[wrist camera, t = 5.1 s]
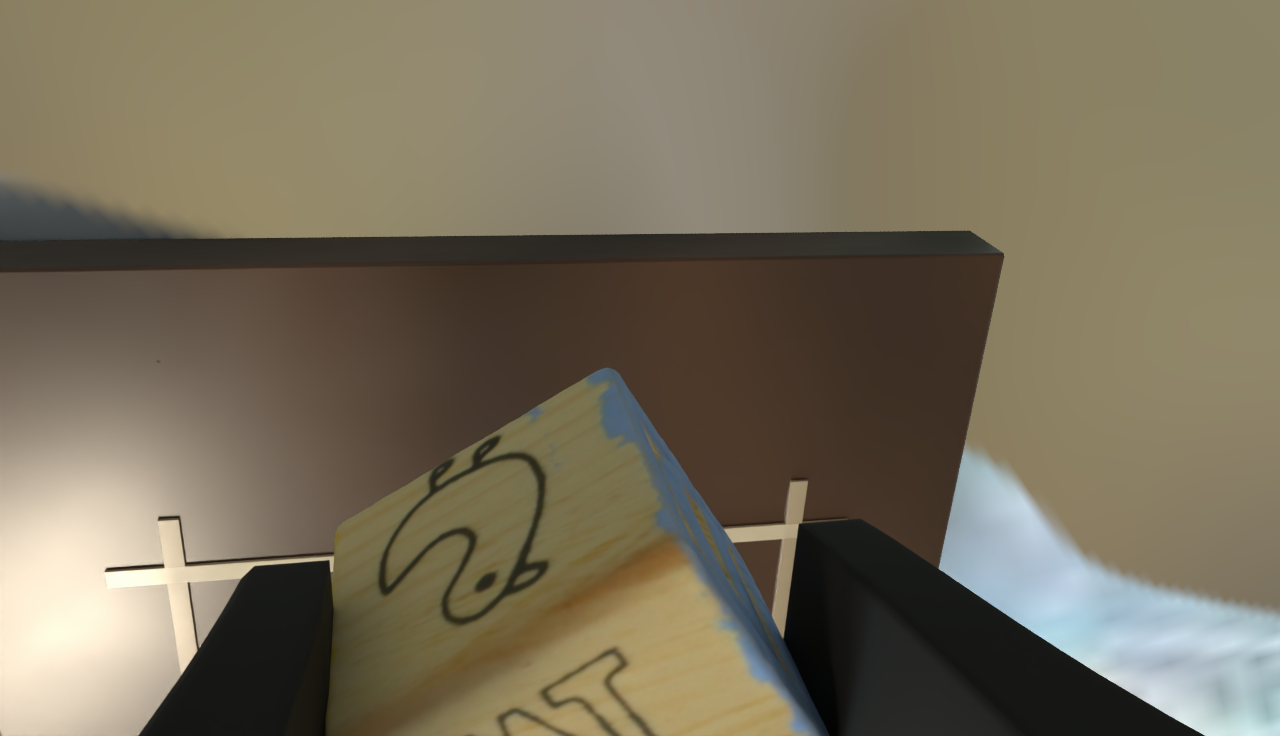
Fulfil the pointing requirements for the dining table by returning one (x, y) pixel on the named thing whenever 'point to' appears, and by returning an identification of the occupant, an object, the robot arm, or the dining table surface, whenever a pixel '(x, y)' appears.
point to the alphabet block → (555, 594)
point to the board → (433, 409)
